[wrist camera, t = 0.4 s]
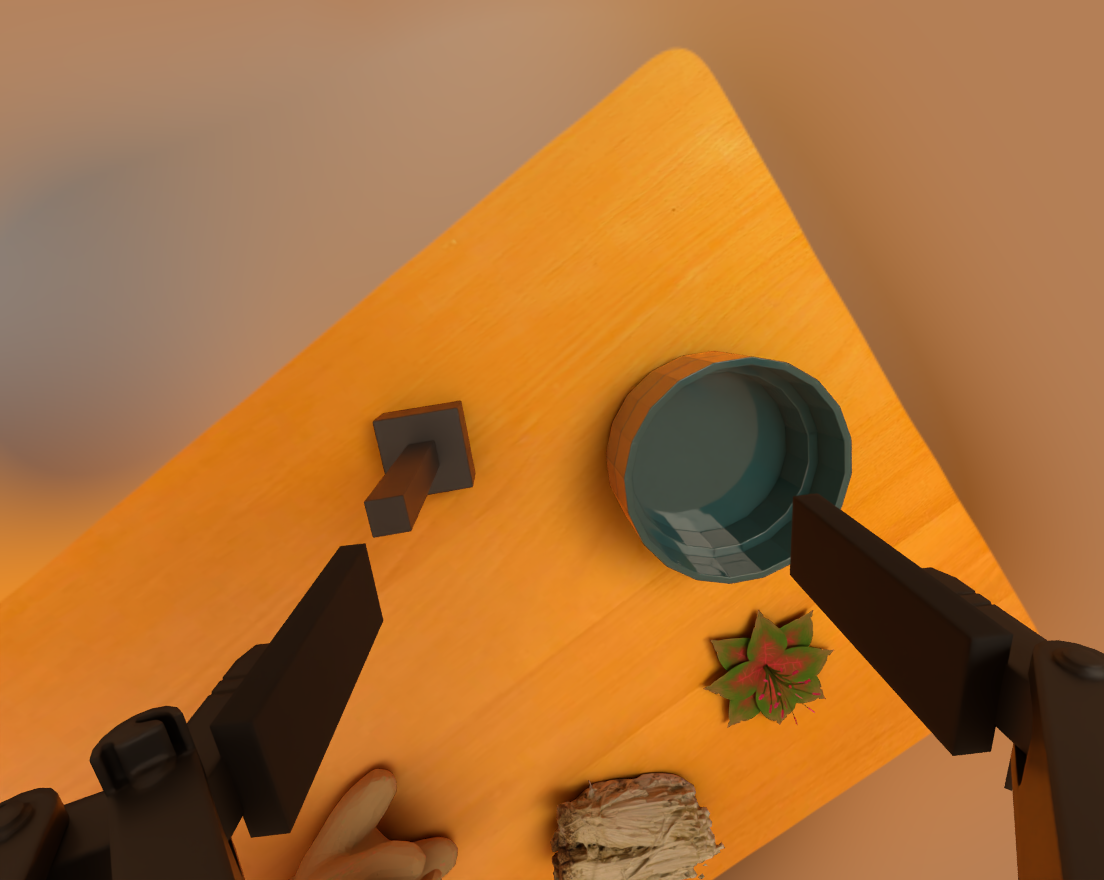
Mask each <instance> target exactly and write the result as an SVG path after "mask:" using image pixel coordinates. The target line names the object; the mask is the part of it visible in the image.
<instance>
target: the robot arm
mask: <svg viewBox="0 0 1104 880" xmlns="http://www.w3.org/2000/svg"><path fill="white" fill-rule="evenodd" d="M790 575H791V577H792V578H793V579H794V580H795V581H796V582H797V583H798V584H799V585H800V587H801V588H802V589H803V590H804V591H805V592H806V593H807V594H808V595H809V597H810V598H811V599H812V600H813V601H814V602H815V603H816V604H817V605H818V607H819V608H820V609H821V610H822V611H823V612H824V613H825V614H826V615H827V617H828V618H829V619H830V620H831V621H832V622H833V623H834V624H835V625H836V627H837V628H838V629H839V630H840V631H841V632H842V633H843V634H844V635H845V637H846V638H847V639H848V640H849V641H850V642H851V643H852V644H853V645H854V647H855V648H856V649H857V650H858V651H859V652H860V653H861V654H862V655H863V657H864V658H865V659H866V660H867V661H868V662H869V663H870V664H871V665H872V667H873V668H874V669H875V670H876V671H877V672H878V673H879V674H880V675H881V677H882V678H883V679H884V680H885V681H886V682H887V683H888V684H889V686H890V687H891V688H892V689H893V690H894V691H895V692H896V693H897V694H898V696H899V697H900V698H901V699H902V700H903V701H904V702H905V703H906V704H907V706H908V707H909V708H910V709H911V710H912V711H913V712H914V713H915V714H916V716H917V717H918V718H919V719H920V720H921V721H922V722H923V723H924V724H925V726H926V727H927V728H928V729H929V730H930V731H931V732H932V733H933V734H934V735H935V737H936V738H937V739H938V740H939V741H940V742H941V743H942V744H943V745H944V747H945V748H946V749H947V750H948V751H949V752H950V753H951V754H952V756H956V755H965V754H974V753H982V752H990V751H991V749H992V743H993V738H994V733H995V727H997V728H998V729H999V730H1000V731H1001V732H1002V733H1004V734H1005V735H1006V736H1007V737H1008V738H1009V739H1010V740H1011V741H1012V742H1013V748H1012V753H1011V759H1010V763H1009V767H1008V772H1007V777H1006V782H1005V787H1004V788H1006V789H1009V790H1011V791H1012V789H1013V802H1014V803H1013V804H1014V820H1015V835H1016V850H1017V866H1018V880H1104V654H1103V653H1101V652H1099V651H1097V650H1095V649H1092V648H1089V647H1086V646H1083V645H1080V644H1076V643H1071V642H1065V641H1059V640H1058V641H1057V640H1056V641H1047V640H1046V639H1044V638H1043V637H1041V636H1040V635H1038V634H1037V633H1036V632H1034V631H1033V630H1031V629H1030V628H1028V627H1027V626H1025V625H1024V624H1022V623H1021V622H1019V621H1018V620H1017V619H1015V618H1014V617H1012V616H1011V615H1009V614H1008V613H1006V612H1005V611H1003V610H1002V609H1001V608H999V607H998V606H996V605H992V604H991V602H990V601H989V600H987V599H986V598H985V597H983V596H982V595H980V594H976V593H975V591H974V590H973V589H971V588H970V587H968V586H967V585H966V584H964V583H963V582H961V581H960V580H958V579H957V578H955V577H953V576H950V575H948V574H946V573H943V572H941V571H938V570H936V569H934V568H931V567H930V568H921V567H919V566H918V565H916V564H915V563H914V562H912V561H911V560H910V559H908V558H907V557H905V556H904V555H903V554H901V553H900V552H898V551H897V550H896V549H894V548H893V547H892V546H890V545H889V544H887V543H886V542H885V541H883V540H882V539H880V538H879V537H878V536H876V535H875V534H873V533H872V532H871V531H869V530H868V529H867V528H865V527H864V526H862V525H861V524H860V523H858V522H857V521H855V520H854V519H853V518H851V517H850V516H849V515H847V514H846V513H844V512H843V511H842V510H840V509H839V508H837V507H836V506H835V505H833V504H832V503H831V502H829V501H828V500H826V499H825V498H824V497H822V496H821V495H819V494H818V493H816V494H807V495H798V496H793V509H792V535H791V560H790ZM382 622H383V617H382V613H381V608H380V604H379V600H378V595H377V591H376V587H375V582H374V578H373V574H372V570H371V565H370V561H369V557H368V552H367V548H366V544H356V545H347V546H340V547H339V549H338V550H337V551H336V553H335V554H334V556H333V557H332V558H331V560H330V561H329V562H328V564H327V565H326V567H325V568H324V569H323V571H322V572H321V573H320V575H319V576H318V577H317V579H316V580H315V582H314V583H313V584H312V586H311V587H310V588H309V590H308V591H307V593H306V594H305V595H304V597H303V598H302V599H301V601H300V602H299V604H298V605H297V606H296V608H295V609H294V610H293V612H292V613H291V615H290V616H289V617H288V619H287V620H286V621H285V623H284V624H283V626H282V627H281V628H280V630H279V631H278V632H277V634H276V635H275V637H274V638H273V639H272V641H271V642H270V643H268V644H259V645H255V646H254V647H253V648H251V649H250V650H249V651H248V652H246V653H245V654H244V655H242V656H241V657H240V658H239V659H237V660H236V661H235V663H234V664H233V665H232V666H231V668H230V669H229V670H228V672H227V673H226V674H225V675H224V677H223V680H222V681H220V682H219V683H218V684H217V686H216V687H215V688H214V689H213V691H212V694H211V695H209V696H208V697H207V698H206V700H205V701H204V702H203V703H202V705H201V706H200V707H199V709H198V710H197V711H196V712H195V714H194V715H193V716H192V717H191V719H190V720H189V721H188V723H186V721H185V718H184V716H183V713H182V712H181V711H180V710H179V709H178V708H177V707H171V706H163V707H158V708H152V709H150V710H147V711H145V712H142V713H140V714H137V715H135V716H133V717H131V718H129V719H128V720H126V721H124V722H123V723H121V724H119V725H118V726H116V727H115V728H114V729H113V730H111V731H110V732H109V733H108V734H106V735H105V736H104V737H103V738H102V739H101V740H100V741H99V743H98V744H97V745H96V746H95V748H94V749H93V750H92V754H91V757H90V760H89V761H90V763H91V765H92V767H93V769H94V771H95V774H96V776H97V778H98V780H99V782H100V784H101V786H102V788H103V790H104V791H102V792H99V793H96V794H94V795H91V796H88V797H85V798H82V799H79V800H77V801H74V802H71V803H68V804H65V805H63V803H62V801H61V799H60V797H59V795H58V793H56V792H55V791H54V790H53V789H52V788H37V789H34V790H30V791H27V792H24V793H21V794H18V795H16V796H14V797H12V798H10V799H8V800H6V801H4V802H2V803H0V880H245V877H244V874H243V871H242V868H241V865H240V861H239V858H238V855H237V852H236V849H235V846H234V843H233V841H232V838H231V836H232V835H233V833H234V831H235V829H236V827H237V825H238V823H239V822H240V820H241V818H242V816H243V818H244V820H245V823H246V826H247V828H248V831H249V834H250V836H251V838H252V837H261V836H269V835H278V834H286V833H290V832H291V830H292V828H293V826H294V823H295V821H296V819H297V816H298V814H299V812H300V810H301V807H302V805H303V803H304V800H305V798H306V796H307V794H308V791H309V789H310V787H311V784H312V782H313V780H314V778H315V775H316V773H317V771H318V768H319V766H320V764H321V762H322V759H323V757H324V755H325V753H326V750H327V748H328V746H329V743H330V741H331V739H332V737H333V734H334V732H335V730H336V727H337V725H338V723H339V721H340V718H341V716H342V714H343V711H344V709H345V707H346V705H347V702H348V700H349V698H350V695H351V693H352V691H353V689H354V686H355V684H356V682H357V679H358V677H359V675H360V673H361V670H362V668H363V666H364V663H365V661H366V659H367V657H368V654H369V652H370V650H371V647H372V645H373V643H374V641H375V638H376V636H377V634H378V631H379V629H380V627H381V625H382Z"/></svg>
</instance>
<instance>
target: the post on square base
mask: <svg viewBox="0 0 1104 880" xmlns="http://www.w3.org/2000/svg"><path fill="white" fill-rule="evenodd" d="M373 426H374V430H375V434H376V439H377V443H378V447H379V451H380V455H381V459H382V464H383V468H384V472H385V475H384V477H383V478H382V479H381V481H380V482H379V483H378V484H377V486H376V487H375V488H374V490H373V491H372V492H371V494H370V495H369V496H368V498H367V499H366V500H365V502H364V504H365V508H366V512H367V516H368V520H369V524H370V528H371V532H372V536H373V538H375V537H380V536H386V535H392V534H397V533H403V532H409V531H412V528H413V526H414V524H415V521H416V519H417V517H418V514H419V512H420V510H421V508H422V505H423V503H424V501H425V498H426V496H427V495H430V494H435V493H441V492H447V491H453V490H459V489H465V488H470V487H473V484H474V478H475V469H474V464H473V459H472V454H471V449H470V444H469V439H468V433H467V428H466V423H465V418H464V413H463V408H462V403H461V401H456V402H450V403H444V404H438V405H431V406H425V407H419V408H413V409H407V410H401V411H395V412H388V413H383V414H382V415H381V416H379V417H378V418H377V419H375V420H374V421H373Z"/></svg>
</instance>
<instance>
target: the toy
mask: <svg viewBox="0 0 1104 880" xmlns="http://www.w3.org/2000/svg"><path fill="white" fill-rule="evenodd" d="M396 788H397V786H396V780H395V777H394V775H393V773H391V772H389V771H388V770H384V769H375V770H373V771H371V772H369V773H368V774H366V775H365V776H364V777H363V778H362V779H361V780H359V781H358V782H357V783H356V784H355V785H354V786H353V787H351V788H350V789H349V791H348V792H347V793H346V794H345V795H344V796H343V797H342V798H341V800H340V801H339V802H338V804H337V805H336V806H335V808H334V809H333V811H332V812H331V814H330V815H329V817H328V818H327V820H326V822H325V824H324V825H323V827H322V829H321V830H320V832H319V834H318V835H317V837H316V839H315V840H314V842H313V843H312V845H311V847H310V848H309V850H308V851H307V853H306V855H305V856H304V858H303V859H302V862H301V864H300V866H299V868H298V870H297V872H296V875H295V876H294V877H292V878H291V879H289V880H442V877H444V876H445V875H446V874H447V873H448V872H449V871H450V870H451V869H452V868H453V867H454V866H455V864H456V859H457V851H458V848H457V846H456V845H455V843H454V842H453V841H451V840H449V839H448V838H443V837H434V838H428V839H423V840H419V841H415V842H409V841H396V840H394V841H390V840H389V839H387V838H386V837H385V836H384V835H383V834H382V833H381V832H380V831H379V830H378V829H377V828H376V826H377V824H378V823H379V821H380V820H381V818H382V817H383V815H384V814H385V812H386V810H387V809H388V806H389V804H390V802H391V801H392V799H393V797H394V796H395V793H396Z"/></svg>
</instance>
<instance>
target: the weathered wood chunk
mask: <svg viewBox="0 0 1104 880" xmlns="http://www.w3.org/2000/svg"><path fill="white" fill-rule="evenodd" d="M588 781H589V780H588ZM589 783H590V781H589ZM695 793H696V791H695V788H694V785H692V784H691V783H689V782H688V781H686V780H685V779H683V778H682V777H679V776H677V775H674V774H665V773H650V774H642V775H641V776H640V777H638V778H636V779H616V780H609V781H607V782H598V783H594V784H592V785H591V783H590V787H589V788H587V789H586V790H585V791H583V792H582V793H581V794H580V795H579V796H578V797H577V799H575V800H573V801H572V802H567V801H566V803H561V804H558V806H557V817H556V818H557V822H558V826H559V827H558V828H557V830H555V832H554V835H553V838H552V840H551V842H550V843H551V847H552V851H553V852H556V851H558V852H557V853H555V855H554V856H553V857H552V863H553V865H554V872H553V875H554V880H683V879H687V878H695V877H696V876H697V873H696V872H695V871H694V869H693V868H694V866H695V865H697V863H702V862H704V861H705V860H707V859H710V858H712V857H713V856H714V855H716V854H718V853H720V849H723V848H725V847H724V845H723V844H722V842H721V843H720V844H719V845H716V844H715V836H714V834H713V833H712V831H711V829H710V827H712V821H711V820H710V819H709V815H710V813H709V811H708V810H707V808H706V807H699V805H698V802H697V799H696V797H695V796H694V795H695ZM703 866H707V865H706V864H704V865H703ZM698 878H700V879H702V878H704V875H703V874H701V875H700V876H699V877H698Z"/></svg>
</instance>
